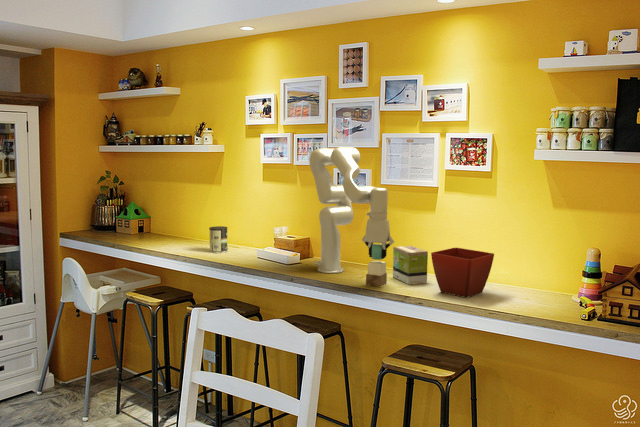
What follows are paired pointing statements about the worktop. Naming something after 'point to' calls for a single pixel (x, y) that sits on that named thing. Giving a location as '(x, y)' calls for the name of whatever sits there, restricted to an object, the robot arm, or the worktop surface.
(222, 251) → the coffee can
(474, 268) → the plant pot
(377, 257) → the teal block
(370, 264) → the cream block
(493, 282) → the worktop surface
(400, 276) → the tea box
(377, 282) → the walnut base block
